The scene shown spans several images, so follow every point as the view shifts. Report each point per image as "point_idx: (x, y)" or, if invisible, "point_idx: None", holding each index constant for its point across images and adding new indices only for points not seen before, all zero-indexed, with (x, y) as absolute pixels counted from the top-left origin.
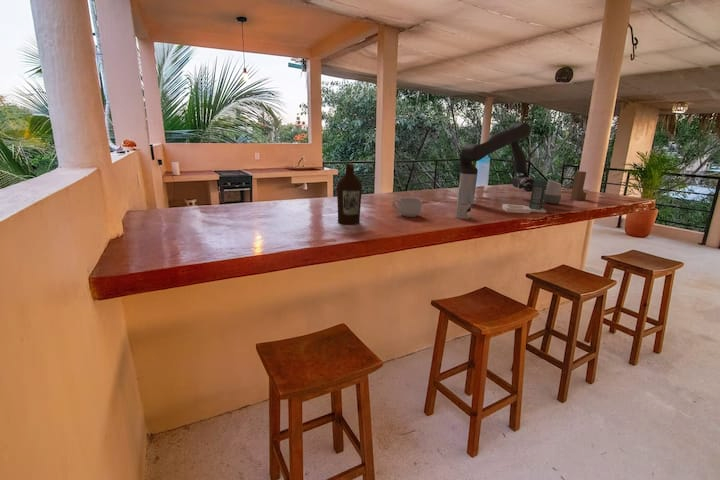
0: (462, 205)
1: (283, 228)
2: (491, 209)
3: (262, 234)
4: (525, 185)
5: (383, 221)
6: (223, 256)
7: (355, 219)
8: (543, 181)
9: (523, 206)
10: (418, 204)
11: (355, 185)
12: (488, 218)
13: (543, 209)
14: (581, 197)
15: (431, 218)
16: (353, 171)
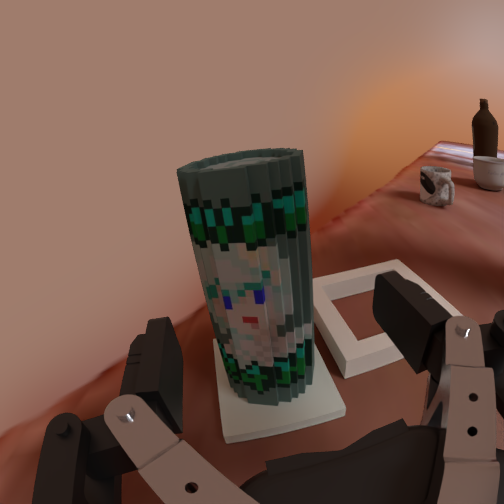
0: (429, 167)
1: None
2: (461, 280)
3: None
4: (432, 308)
5: (473, 172)
6: (442, 145)
7: None
8: (221, 156)
9: (348, 327)
10: (473, 161)
11: (472, 120)
12: (393, 211)
13: (221, 365)
14: None
15: (458, 187)
16: (480, 106)
